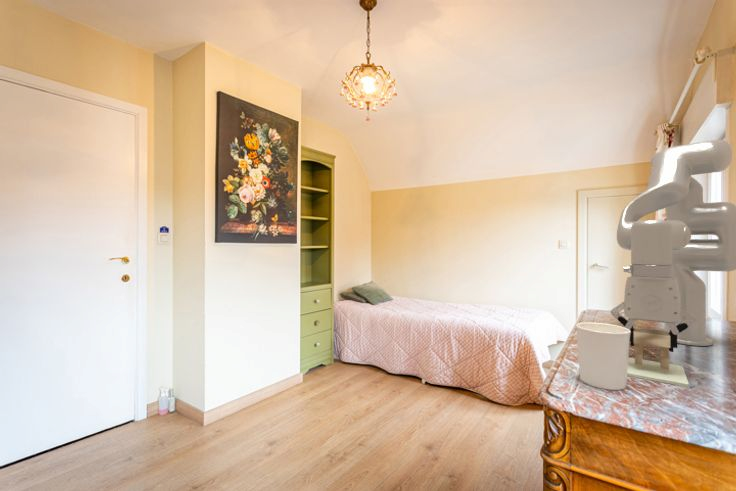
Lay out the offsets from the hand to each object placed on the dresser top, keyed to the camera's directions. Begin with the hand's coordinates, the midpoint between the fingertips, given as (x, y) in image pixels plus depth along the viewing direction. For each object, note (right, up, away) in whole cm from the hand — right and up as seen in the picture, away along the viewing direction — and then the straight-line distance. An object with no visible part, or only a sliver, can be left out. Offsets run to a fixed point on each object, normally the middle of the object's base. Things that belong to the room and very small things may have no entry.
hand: (651, 346), depth 81 cm
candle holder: (-16, -6, -7) cm, 18 cm away
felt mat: (0, -6, 0) cm, 6 cm away
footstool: (0, -4, 0) cm, 4 cm away
